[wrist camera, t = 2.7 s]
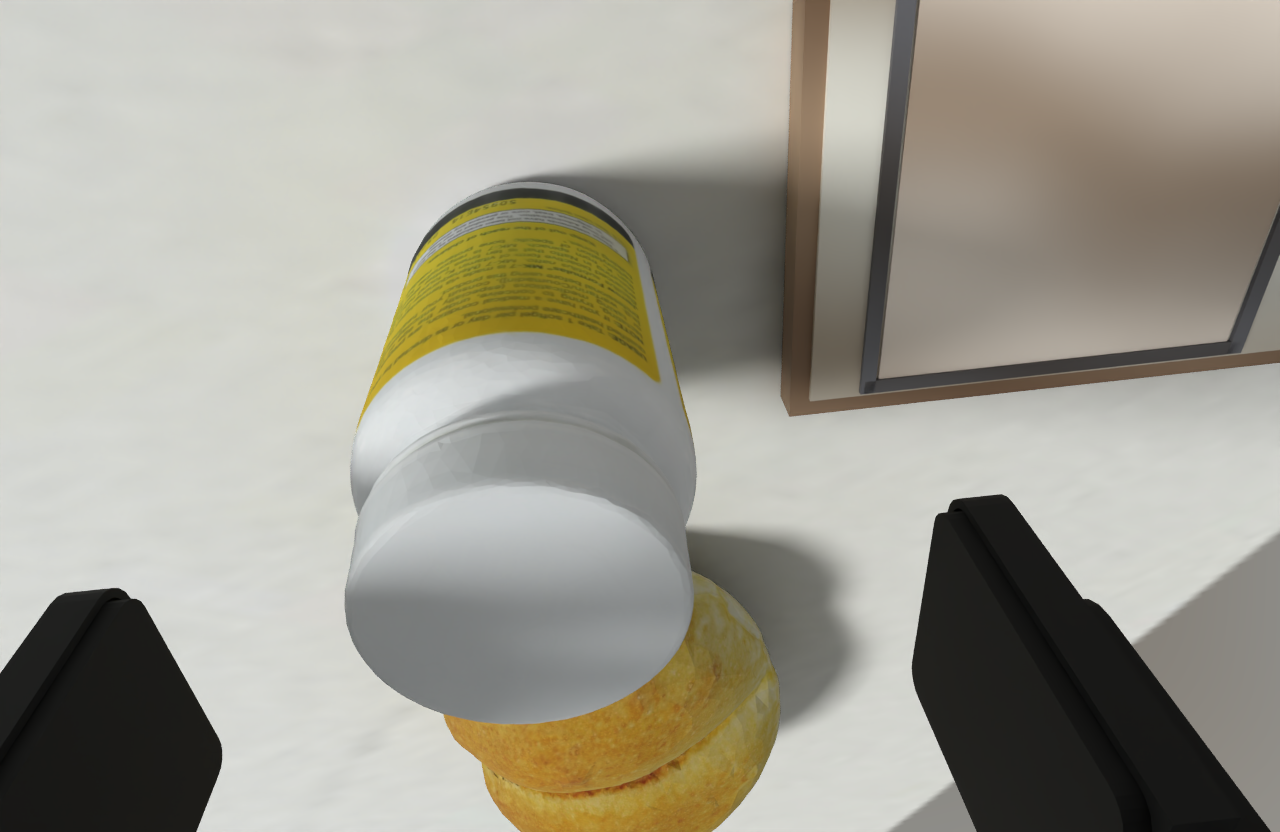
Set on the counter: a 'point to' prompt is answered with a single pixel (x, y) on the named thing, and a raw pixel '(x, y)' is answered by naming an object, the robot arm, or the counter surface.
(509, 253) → the supplement bottle
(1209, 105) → the brown double tray
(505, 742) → the bread roll
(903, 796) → the counter surface
